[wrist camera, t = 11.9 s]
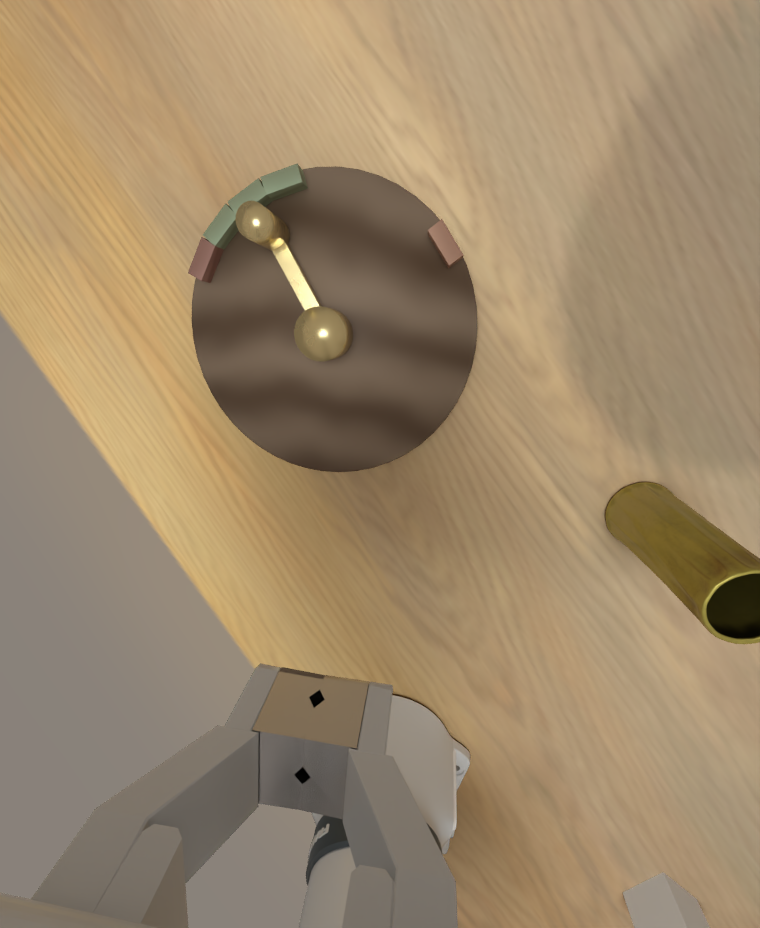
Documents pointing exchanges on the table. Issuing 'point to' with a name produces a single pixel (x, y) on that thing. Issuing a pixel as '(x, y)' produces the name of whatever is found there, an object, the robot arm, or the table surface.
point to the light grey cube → (663, 905)
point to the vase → (691, 559)
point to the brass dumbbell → (297, 286)
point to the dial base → (350, 292)
